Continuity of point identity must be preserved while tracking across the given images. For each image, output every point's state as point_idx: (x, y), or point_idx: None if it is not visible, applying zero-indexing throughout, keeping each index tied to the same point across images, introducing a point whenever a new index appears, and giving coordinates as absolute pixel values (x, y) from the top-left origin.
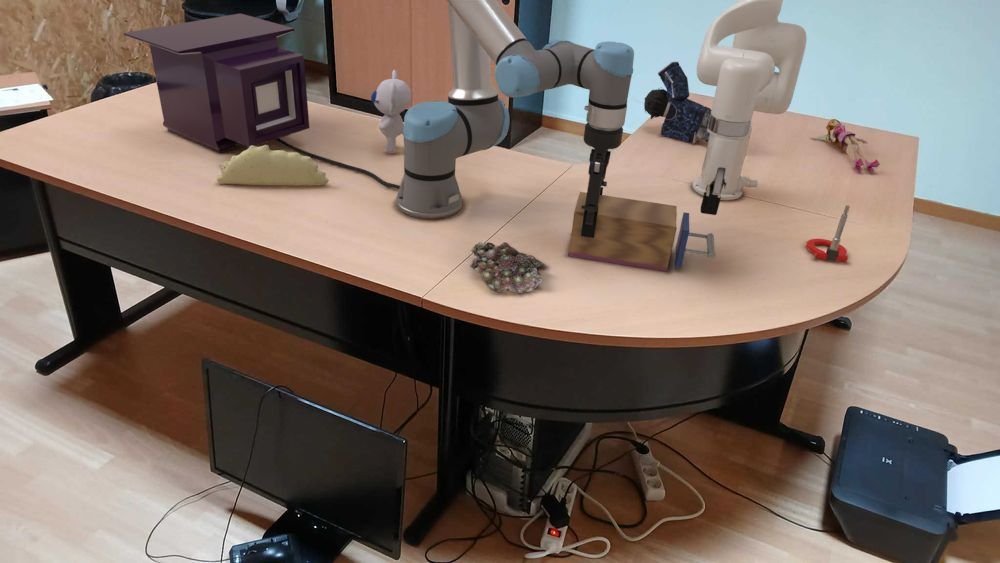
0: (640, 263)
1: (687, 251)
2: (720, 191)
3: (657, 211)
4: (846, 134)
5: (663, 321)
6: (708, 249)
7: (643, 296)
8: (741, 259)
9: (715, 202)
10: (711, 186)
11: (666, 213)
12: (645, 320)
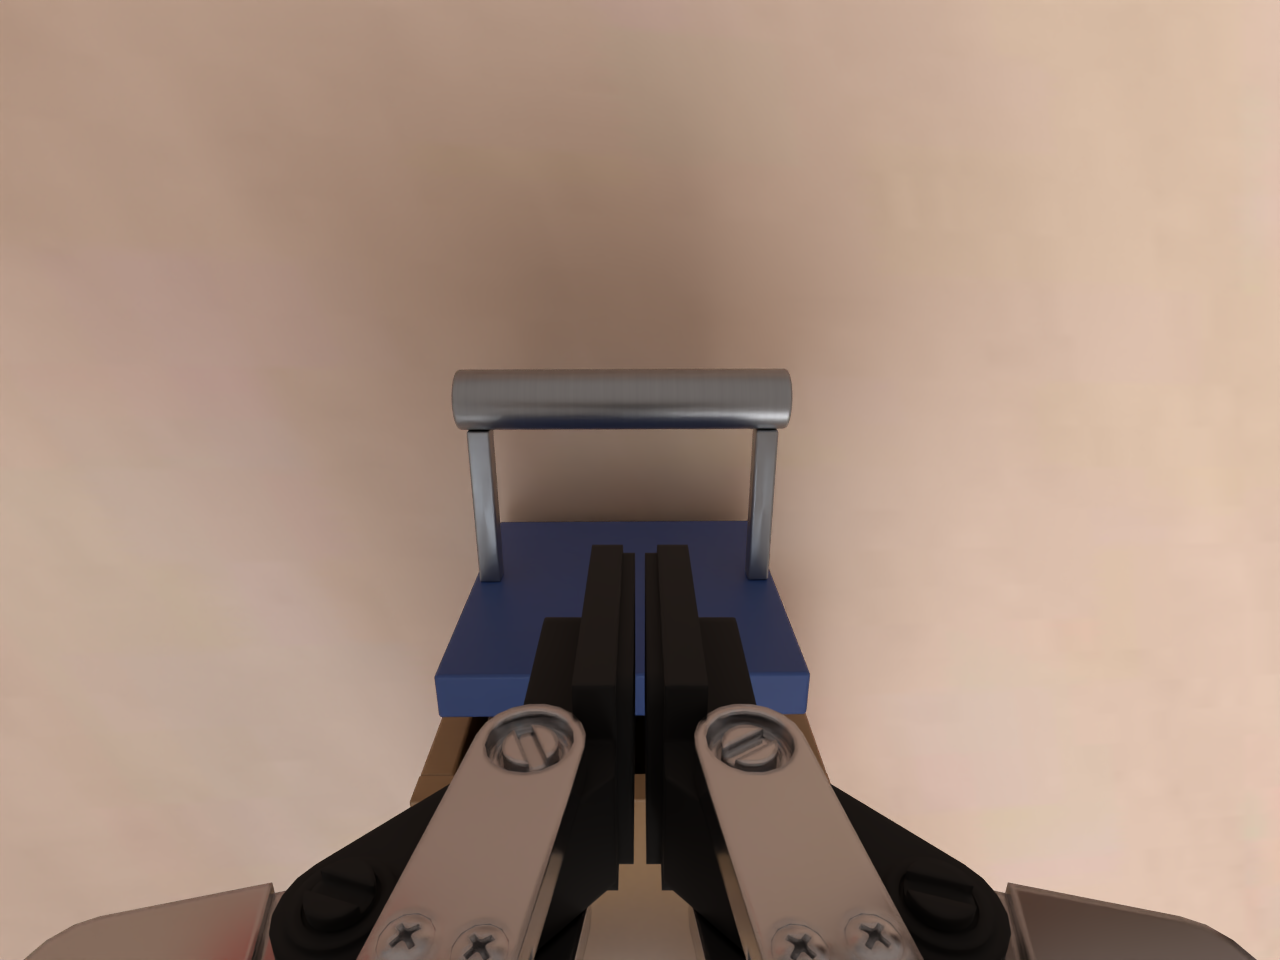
0: None
1: (768, 560)
2: (843, 839)
3: (596, 922)
4: None
5: (1257, 579)
6: (729, 426)
7: (1034, 671)
8: (432, 97)
9: (752, 694)
10: (546, 918)
11: None
12: (1248, 653)
